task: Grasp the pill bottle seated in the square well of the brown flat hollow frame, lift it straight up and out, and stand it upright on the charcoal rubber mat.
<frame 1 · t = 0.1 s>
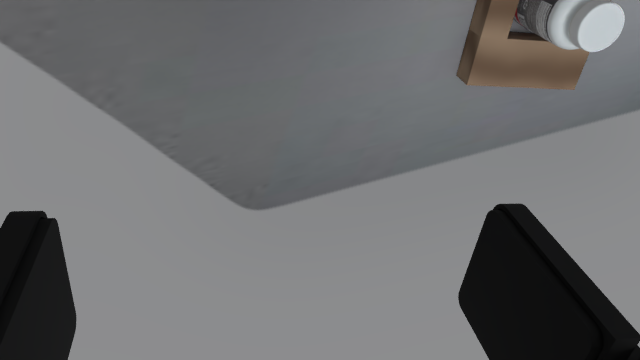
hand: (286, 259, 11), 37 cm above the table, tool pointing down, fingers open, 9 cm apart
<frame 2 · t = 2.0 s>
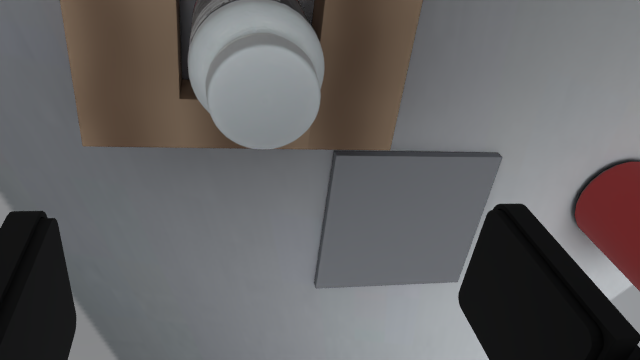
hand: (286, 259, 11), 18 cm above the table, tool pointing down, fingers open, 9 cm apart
brown flat hollow frame: (247, 20, 25), on the table
pill bottle: (247, 18, 26), resting in brown flat hollow frame
charcoal mat: (401, 220, 35), on the table
beer can: (610, 193, 37), on the table
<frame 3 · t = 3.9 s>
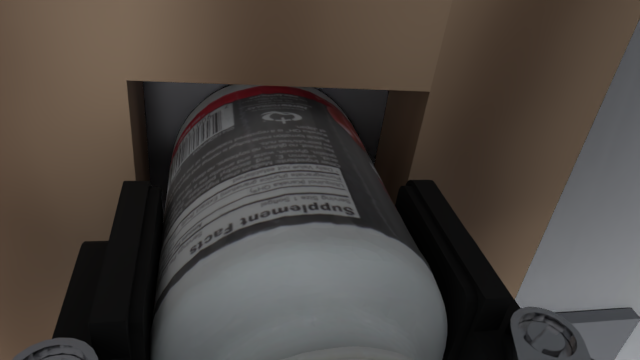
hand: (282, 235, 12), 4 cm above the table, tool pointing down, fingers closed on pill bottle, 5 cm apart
brown flat hollow frame: (267, 159, 15), on the table
pill bottle: (266, 155, 15), resting in brown flat hollow frame, touching gripper
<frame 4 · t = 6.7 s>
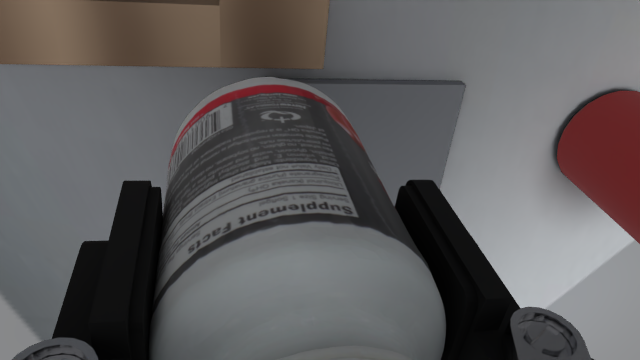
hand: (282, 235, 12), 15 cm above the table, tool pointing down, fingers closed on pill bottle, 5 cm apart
pill bottle: (265, 154, 15), point 12 cm above the table, touching gripper
charcoal mat: (354, 167, 30), on the table
beer can: (598, 133, 32), on the table
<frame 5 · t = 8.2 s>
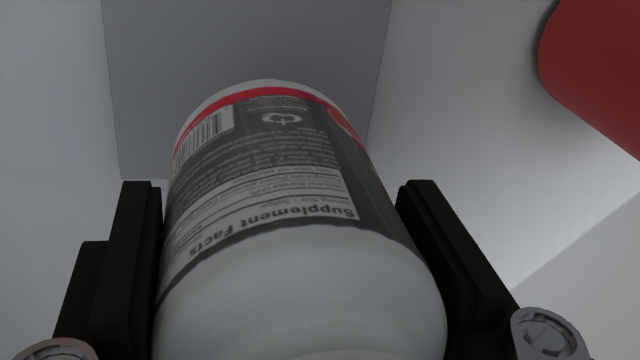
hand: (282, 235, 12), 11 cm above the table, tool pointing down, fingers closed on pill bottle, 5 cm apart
pill bottle: (266, 156, 15), point 8 cm above the table, touching gripper
charcoal mat: (249, 60, 21), on the table
beer can: (594, 33, 24), on the table
when the fingers open (5 cm above the table, at t = 9.6 s): pill bottle drops 1 cm, resting on charcoal mat.
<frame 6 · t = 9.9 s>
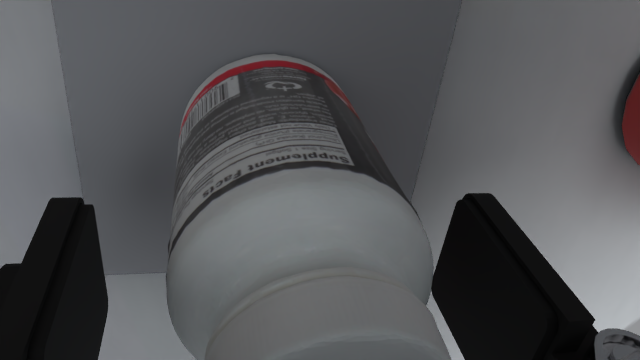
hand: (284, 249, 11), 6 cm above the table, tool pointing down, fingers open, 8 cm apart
pill bottle: (268, 129, 16), resting on charcoal mat
charcoal mat: (261, 128, 16), on the table
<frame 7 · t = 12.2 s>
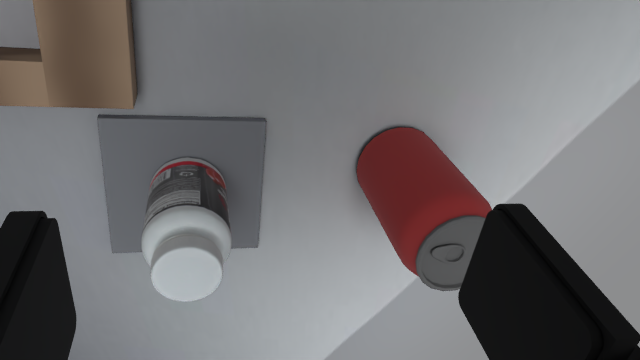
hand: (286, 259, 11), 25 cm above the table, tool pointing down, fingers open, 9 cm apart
pill bottle: (188, 186, 37), resting on charcoal mat
charcoal mat: (186, 185, 37), on the table
beer can: (393, 160, 40), on the table
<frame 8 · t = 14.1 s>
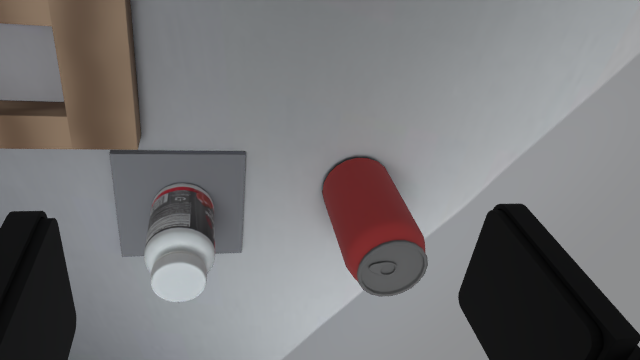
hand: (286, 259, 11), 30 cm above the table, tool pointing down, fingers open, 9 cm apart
brown flat hollow frame: (18, 59, 36), on the table
pill bottle: (183, 204, 45), resting on charcoal mat
charcoal mat: (181, 203, 46), on the table
beer can: (354, 183, 48), on the table
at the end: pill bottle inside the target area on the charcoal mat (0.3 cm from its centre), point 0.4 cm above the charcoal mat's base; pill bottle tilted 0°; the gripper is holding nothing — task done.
